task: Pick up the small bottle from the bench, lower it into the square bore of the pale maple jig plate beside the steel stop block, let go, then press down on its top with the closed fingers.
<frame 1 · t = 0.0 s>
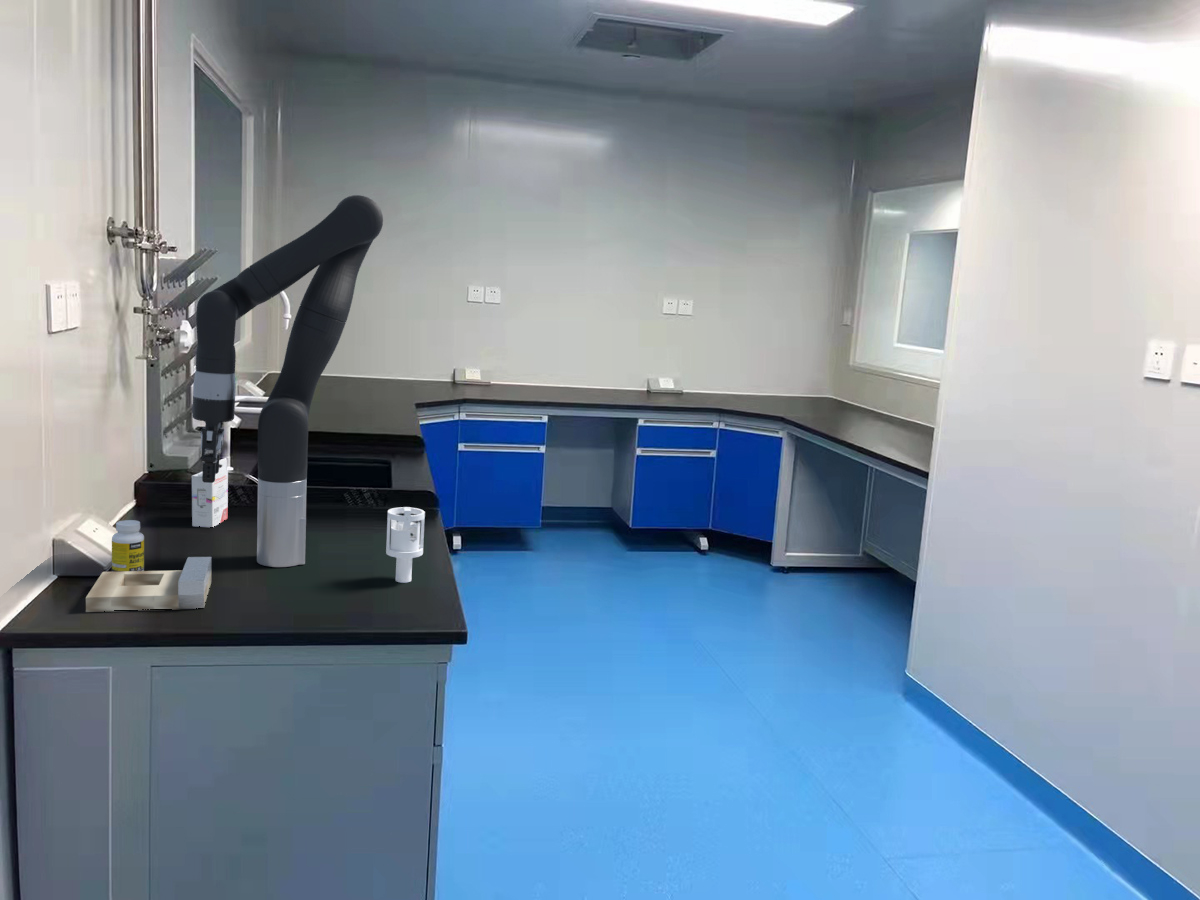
hand: (210, 477, 181), 17 cm above the counter, tool pointing down, fingers open, 8 cm apart
supplement bottle: (128, 574, 174), on the counter
ink cartridge box: (209, 523, 212), on the counter
jig: (152, 596, 163), on the counter
strainer: (403, 581, 182), on the counter
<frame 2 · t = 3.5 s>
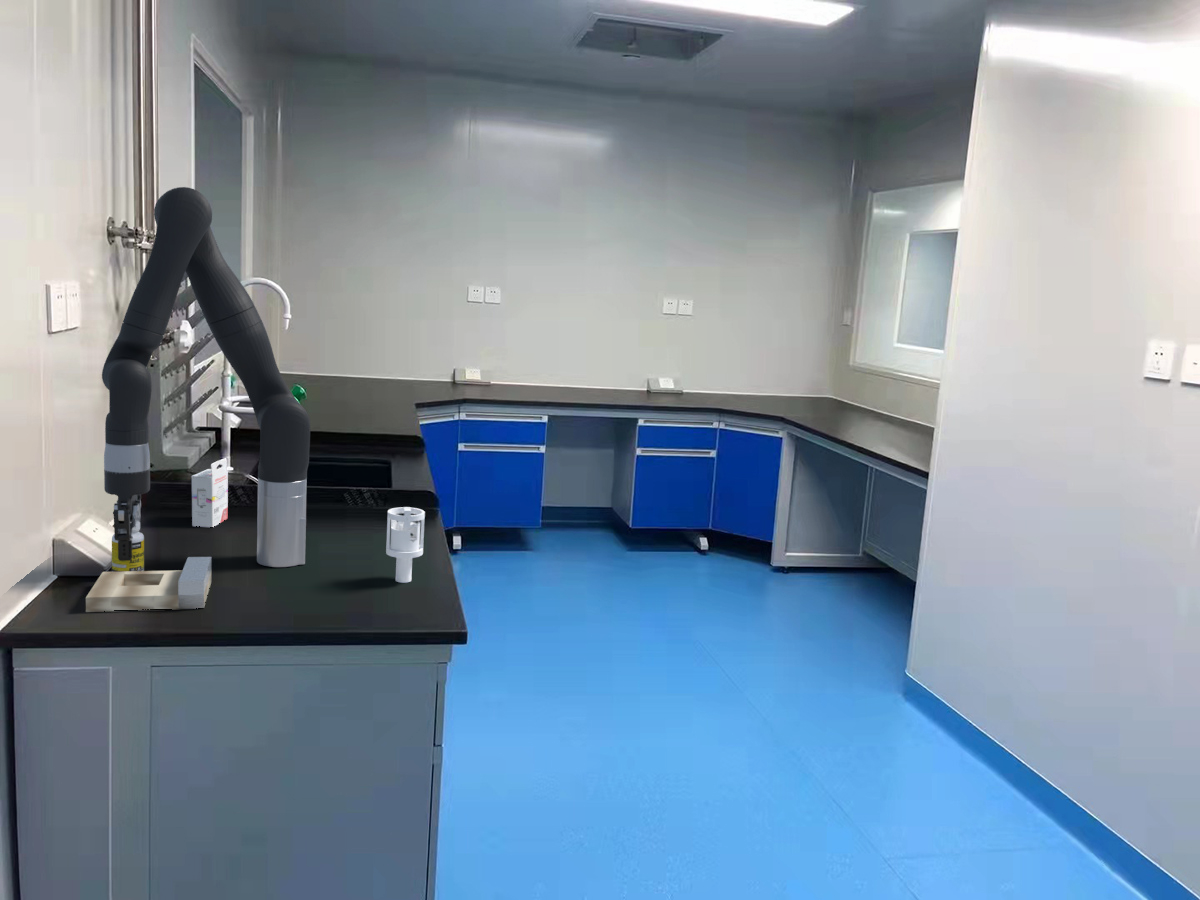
hand: (128, 555, 173), 3 cm above the counter, tool pointing down, fingers closed on supplement bottle, 5 cm apart
supplement bottle: (128, 574, 174), on the counter, touching gripper
everything else where it was.
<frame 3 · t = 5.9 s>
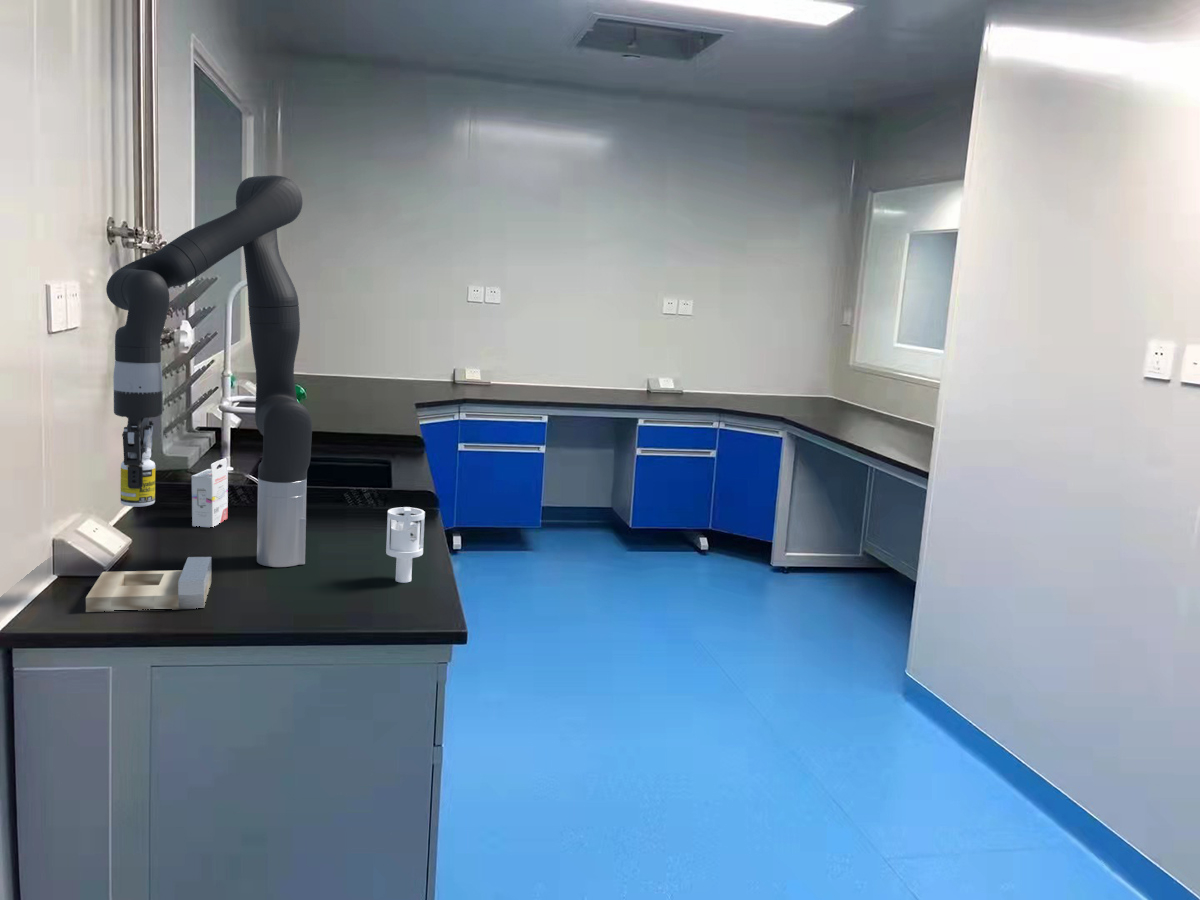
hand: (138, 484, 161), 20 cm above the counter, tool pointing down, fingers closed on supplement bottle, 5 cm apart
supplement bottle: (138, 504, 162), point 16 cm above the counter, touching gripper
everything else where it was.
when the fingers open (5 cm above the counter, at t = 8.7 s): supplement bottle drops 1 cm, resting in jig.
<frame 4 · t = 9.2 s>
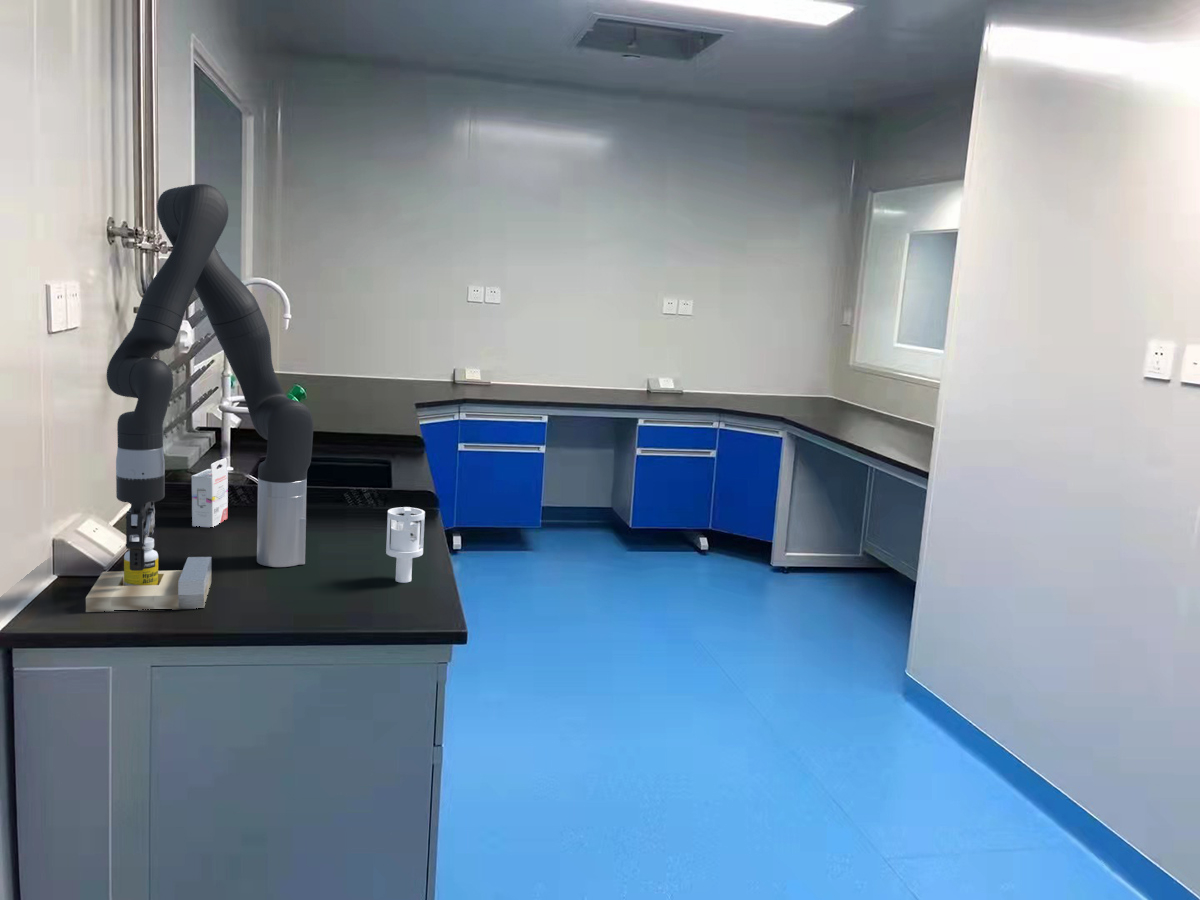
hand: (141, 562, 163), 6 cm above the counter, tool pointing down, fingers open, 8 cm apart
supplement bottle: (141, 594, 164), resting in jig
everything else where it was.
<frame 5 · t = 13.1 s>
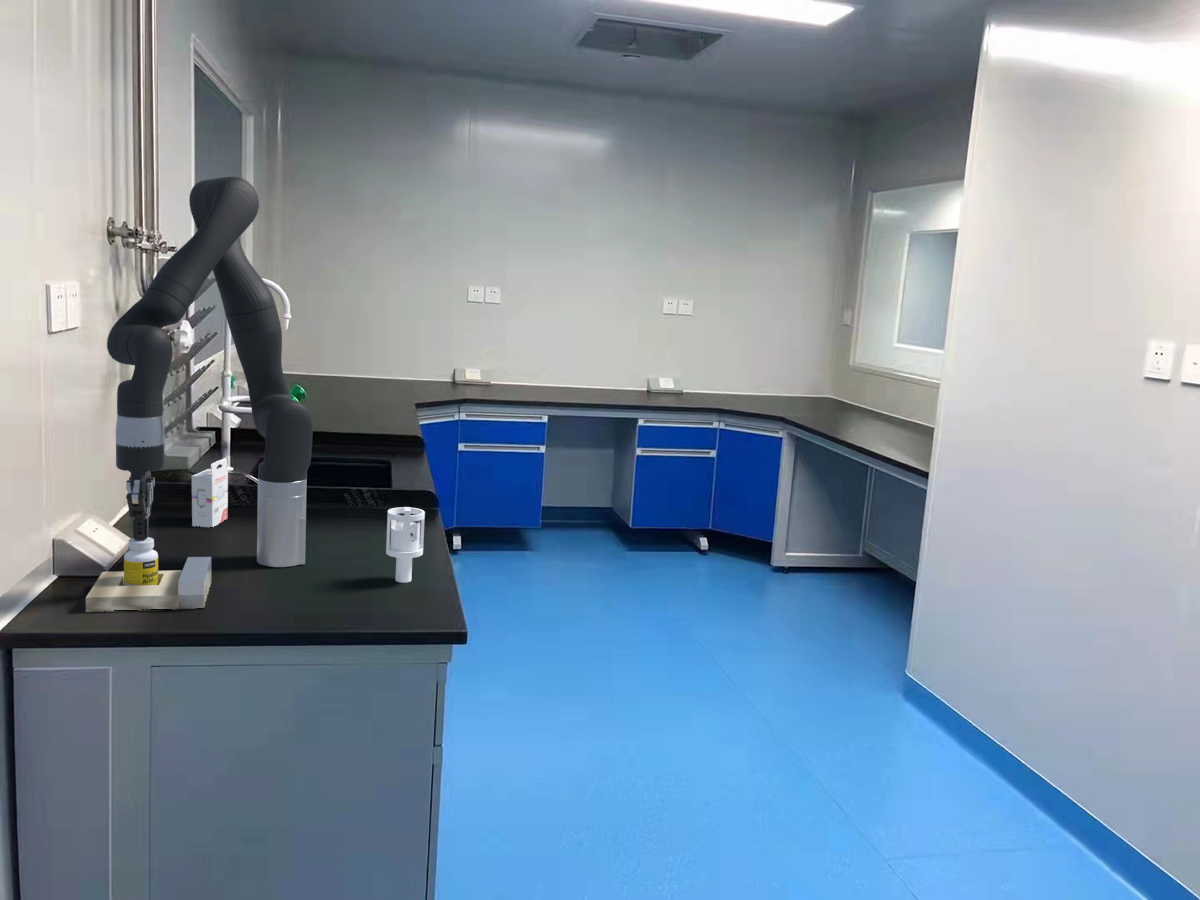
hand: (141, 538, 162), 10 cm above the counter, tool pointing down, fingers closed
nothing on the counter moved.
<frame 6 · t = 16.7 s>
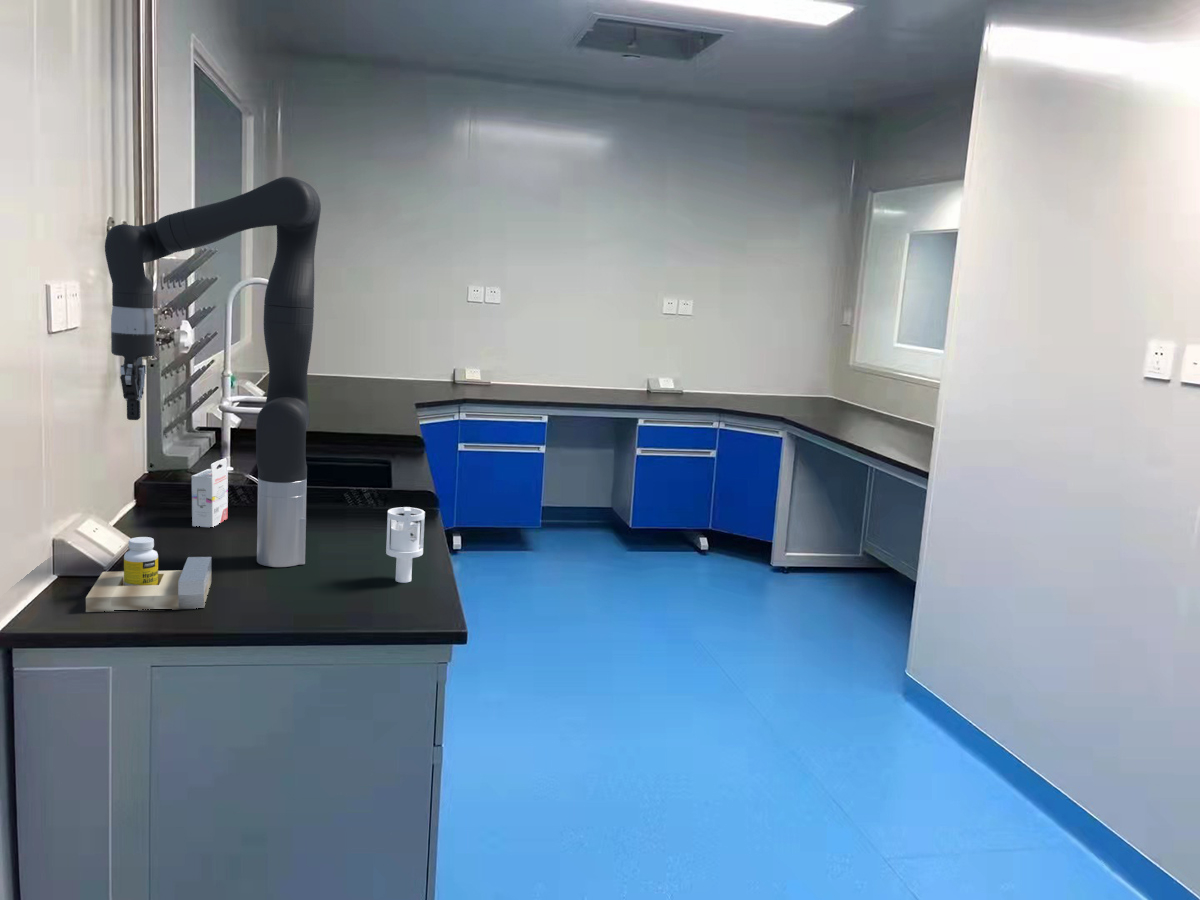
hand: (133, 419, 182), 27 cm above the counter, tool pointing down, fingers closed
nothing on the counter moved.
at the end: supplement bottle 0.1 cm from the target spot on the jig, point 0.0 cm above the jig's base; supplement bottle tilted 0°; the gripper is holding nothing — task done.
